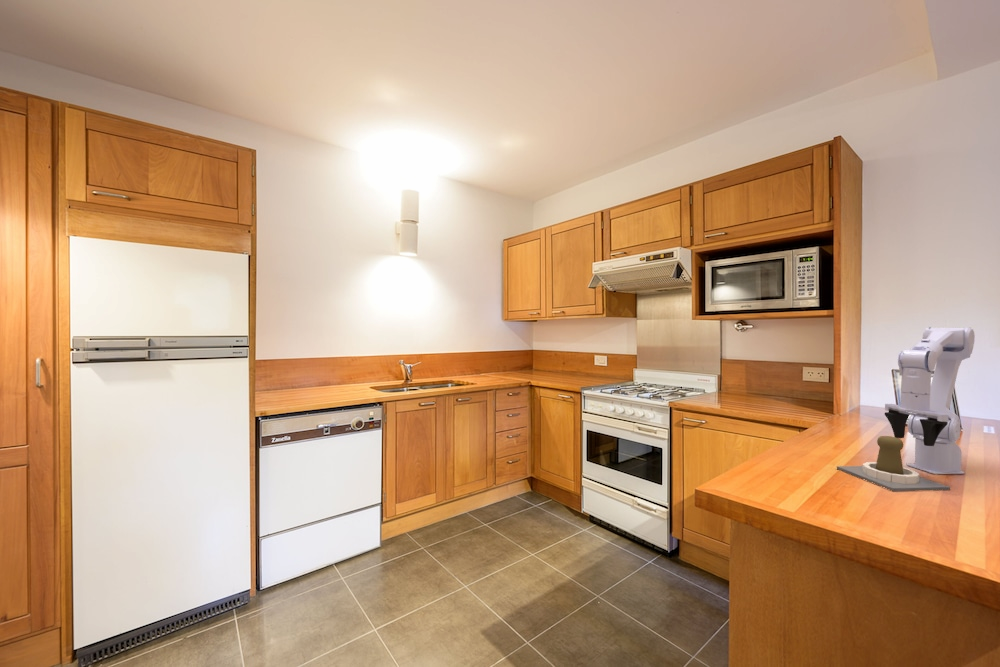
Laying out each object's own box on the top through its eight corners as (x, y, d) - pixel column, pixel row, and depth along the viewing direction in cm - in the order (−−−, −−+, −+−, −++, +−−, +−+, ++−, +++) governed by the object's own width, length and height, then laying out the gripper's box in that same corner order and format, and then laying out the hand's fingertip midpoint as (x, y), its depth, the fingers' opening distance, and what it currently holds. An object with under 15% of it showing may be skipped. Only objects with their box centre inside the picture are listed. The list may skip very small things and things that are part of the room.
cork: (891, 472, 115) (892, 434, 114) (911, 480, 109) (912, 440, 108) (868, 471, 115) (869, 433, 115) (886, 479, 109) (887, 439, 109)
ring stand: (887, 468, 121) (887, 458, 120) (950, 490, 105) (950, 479, 105) (836, 469, 120) (837, 459, 119) (892, 491, 104) (893, 480, 103)
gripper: (875, 388, 119) (874, 434, 119) (931, 397, 104) (929, 449, 105) (898, 389, 119) (896, 434, 119) (956, 397, 105) (954, 449, 105)
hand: (913, 441), depth 112 cm, fingers open, 7 cm apart
